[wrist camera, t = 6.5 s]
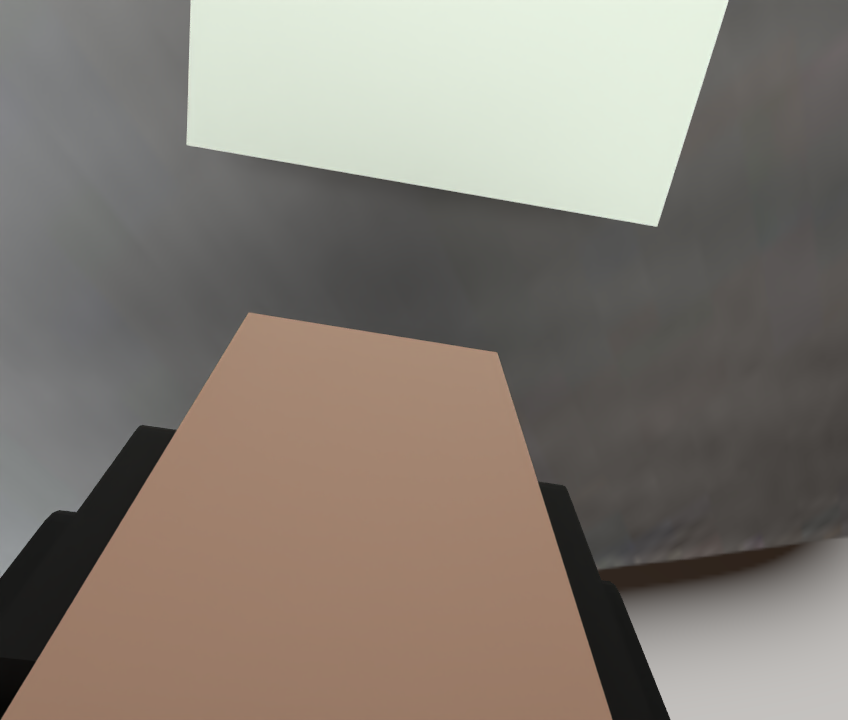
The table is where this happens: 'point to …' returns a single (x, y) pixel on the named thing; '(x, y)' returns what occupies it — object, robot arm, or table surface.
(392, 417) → the salmon rectangular block
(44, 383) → the table surface
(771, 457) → the table surface
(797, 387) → the table surface
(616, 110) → the lid
